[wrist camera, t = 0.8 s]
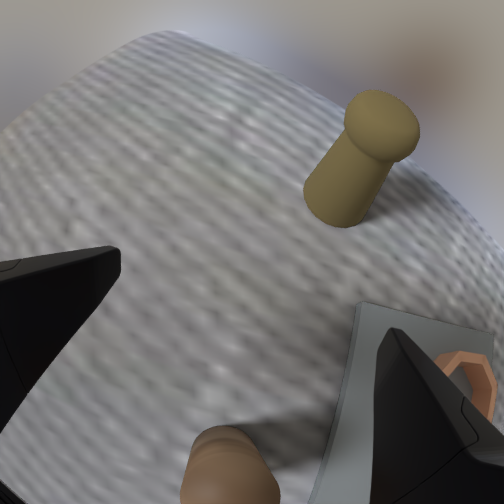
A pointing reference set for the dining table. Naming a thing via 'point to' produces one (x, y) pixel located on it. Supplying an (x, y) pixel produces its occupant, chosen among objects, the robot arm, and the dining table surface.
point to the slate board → (362, 389)
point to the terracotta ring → (473, 377)
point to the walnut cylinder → (227, 471)
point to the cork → (361, 158)
